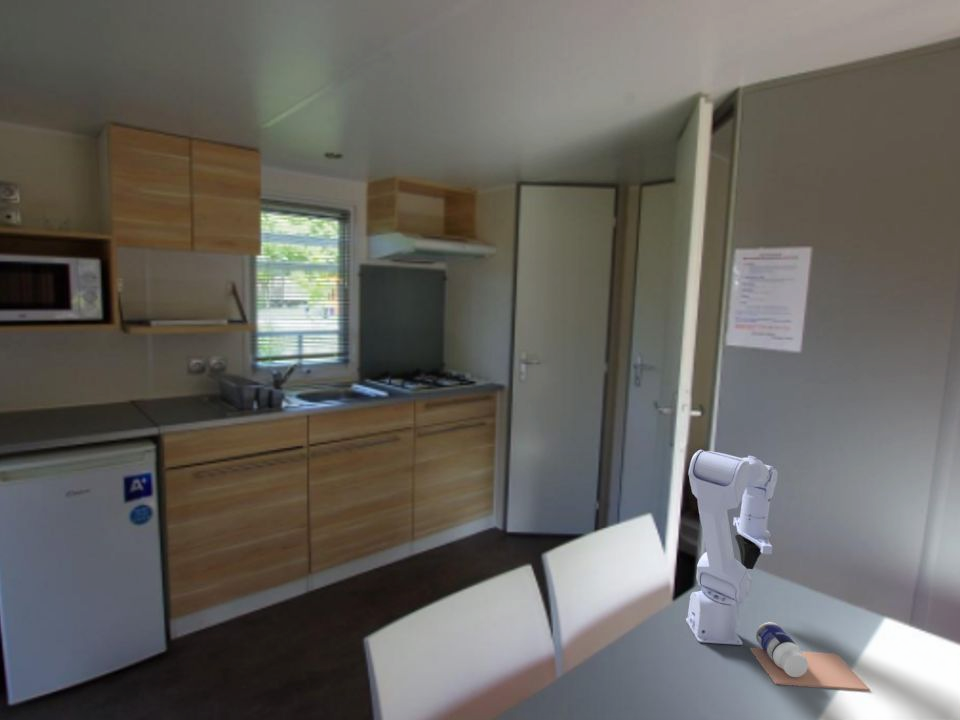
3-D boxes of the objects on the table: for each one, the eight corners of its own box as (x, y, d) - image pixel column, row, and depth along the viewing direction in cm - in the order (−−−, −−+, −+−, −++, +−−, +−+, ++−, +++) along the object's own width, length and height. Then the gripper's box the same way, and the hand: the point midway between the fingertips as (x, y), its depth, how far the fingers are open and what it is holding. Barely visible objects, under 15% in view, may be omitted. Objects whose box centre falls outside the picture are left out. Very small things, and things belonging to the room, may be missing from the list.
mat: (775, 684, 103) (775, 682, 103) (750, 649, 112) (750, 647, 112) (869, 691, 102) (869, 689, 102) (836, 655, 112) (836, 653, 112)
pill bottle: (786, 628, 113) (817, 661, 103) (771, 650, 114) (800, 684, 104) (764, 616, 112) (792, 648, 103) (749, 638, 113) (776, 672, 103)
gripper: (788, 528, 117) (780, 585, 119) (756, 501, 131) (749, 552, 133) (756, 526, 117) (749, 583, 119) (727, 499, 132) (721, 551, 134)
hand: (747, 567), depth 126 cm, fingers closed
